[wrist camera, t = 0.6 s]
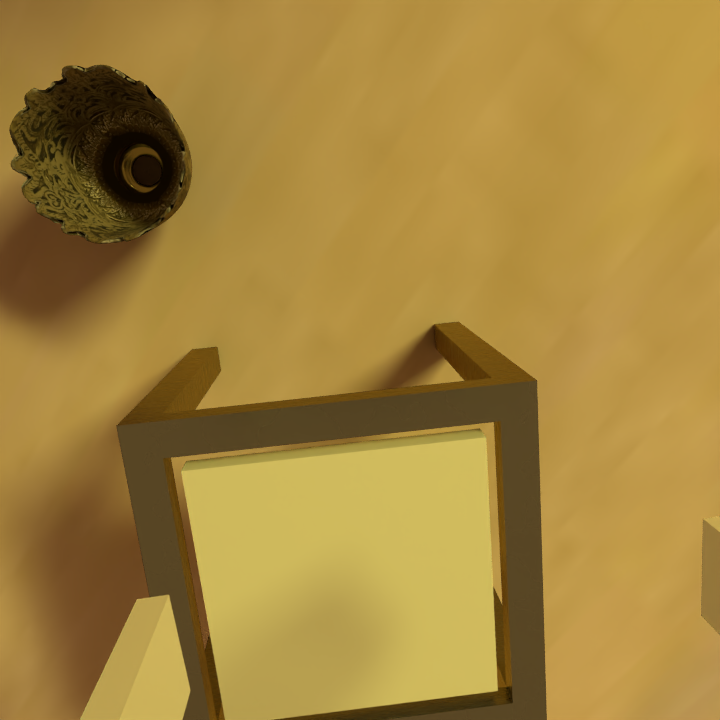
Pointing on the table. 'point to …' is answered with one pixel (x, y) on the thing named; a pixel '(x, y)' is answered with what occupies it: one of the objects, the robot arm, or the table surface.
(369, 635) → the trapdoor
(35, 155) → the dark piece
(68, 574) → the table surface
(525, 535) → the trapdoor frame
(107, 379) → the table surface
